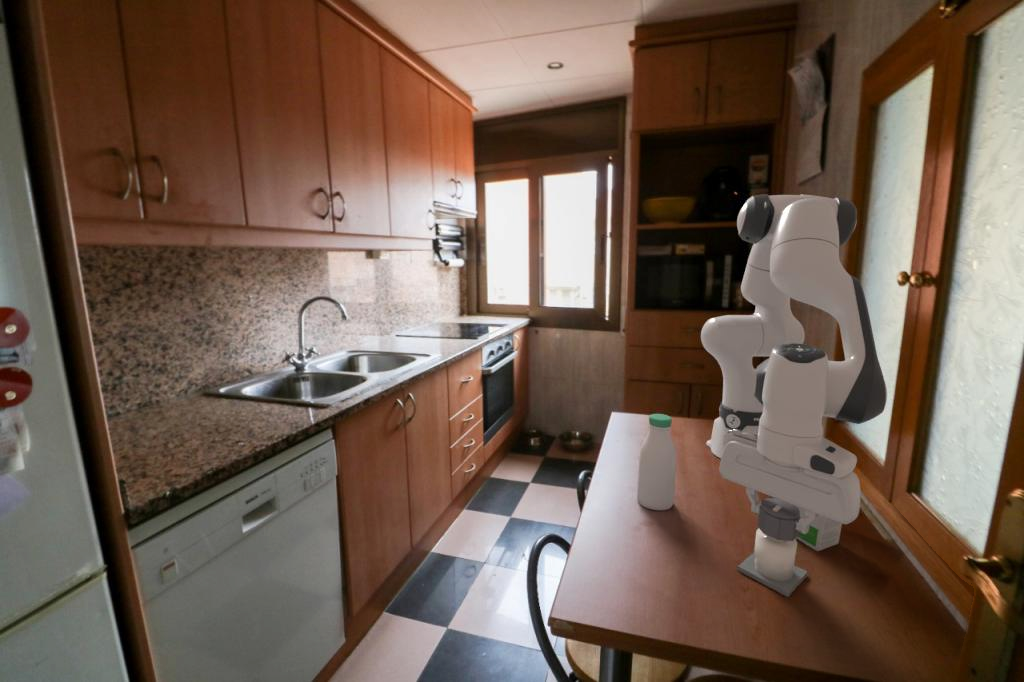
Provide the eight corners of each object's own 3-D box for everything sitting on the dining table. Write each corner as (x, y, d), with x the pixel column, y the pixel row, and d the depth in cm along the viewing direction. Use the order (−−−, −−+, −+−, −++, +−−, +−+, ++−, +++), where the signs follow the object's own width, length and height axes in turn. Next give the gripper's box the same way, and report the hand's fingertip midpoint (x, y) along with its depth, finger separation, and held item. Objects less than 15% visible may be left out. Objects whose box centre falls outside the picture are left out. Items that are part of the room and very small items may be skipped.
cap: (767, 517, 79) (769, 493, 79) (801, 532, 75) (805, 506, 74) (753, 528, 76) (756, 503, 75) (788, 544, 72) (792, 518, 71)
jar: (758, 552, 83) (763, 503, 81) (806, 575, 76) (814, 523, 75) (737, 570, 78) (742, 518, 76) (788, 597, 72) (795, 541, 70)
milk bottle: (675, 513, 95) (682, 424, 92) (638, 509, 97) (643, 421, 93) (670, 495, 103) (676, 412, 99) (635, 491, 104) (640, 409, 100)
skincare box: (777, 528, 90) (786, 455, 87) (799, 521, 93) (808, 450, 90) (819, 553, 82) (830, 474, 80) (842, 544, 85) (853, 468, 82)
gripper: (716, 430, 79) (709, 502, 81) (857, 472, 63) (843, 560, 66) (733, 422, 83) (726, 491, 85) (870, 460, 67) (857, 543, 70)
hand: (778, 521), depth 75 cm, fingers closed on cap, 5 cm apart
